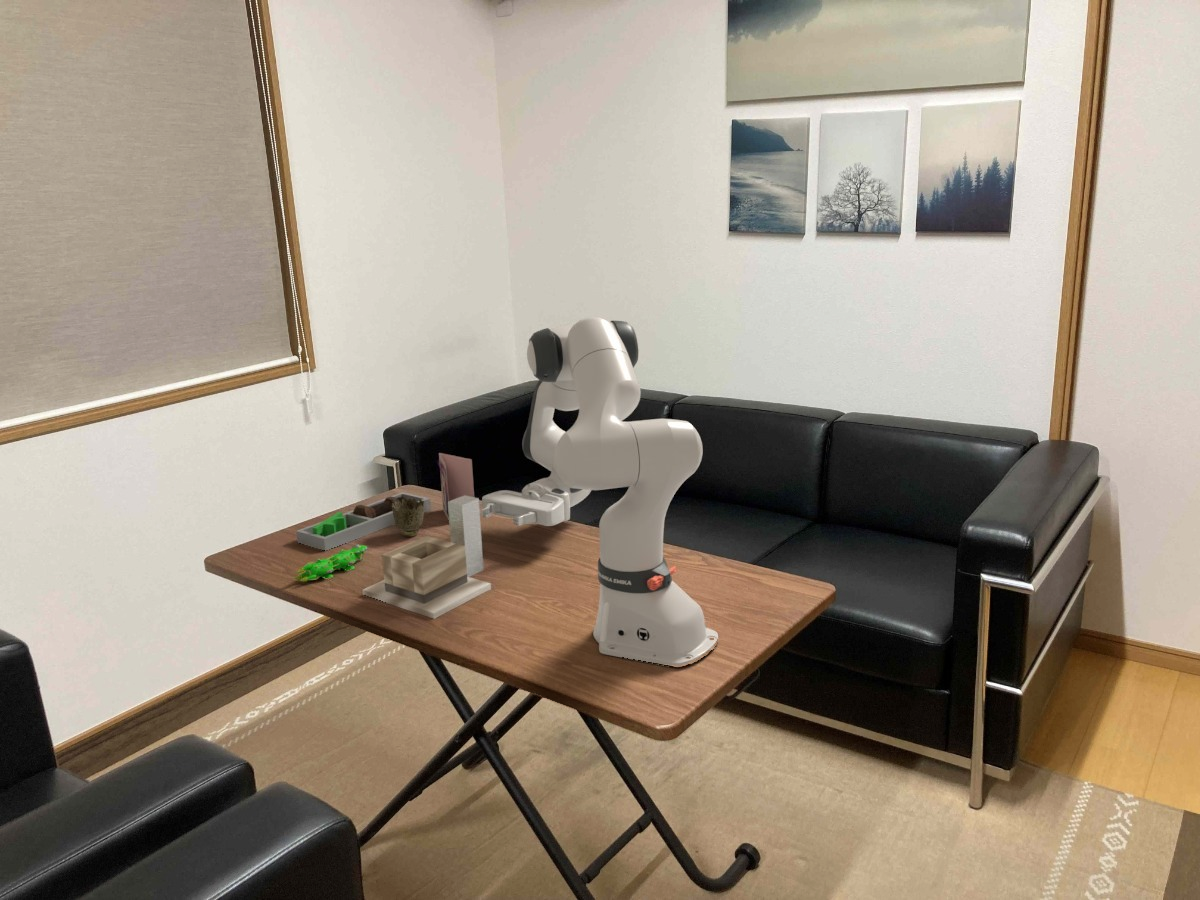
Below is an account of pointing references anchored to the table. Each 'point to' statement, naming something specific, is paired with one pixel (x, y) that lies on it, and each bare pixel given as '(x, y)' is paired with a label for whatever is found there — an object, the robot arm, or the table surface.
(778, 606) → the table surface
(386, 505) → the bolt
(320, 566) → the crocodile figurine
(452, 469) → the greeting card
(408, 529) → the cup
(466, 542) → the grey rectangular bar
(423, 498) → the parts tray
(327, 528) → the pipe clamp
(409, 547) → the square socket base
